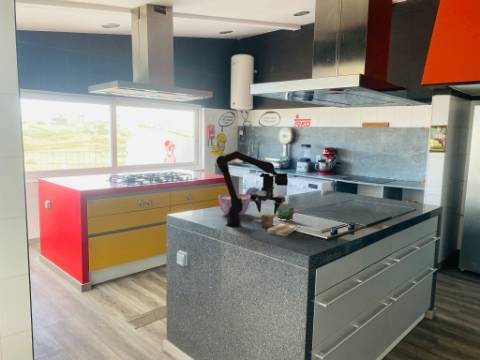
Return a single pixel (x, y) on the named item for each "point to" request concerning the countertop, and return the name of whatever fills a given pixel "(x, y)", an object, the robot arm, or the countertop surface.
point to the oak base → (281, 229)
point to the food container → (285, 211)
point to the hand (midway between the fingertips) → (267, 213)
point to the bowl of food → (226, 204)
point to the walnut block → (267, 220)
